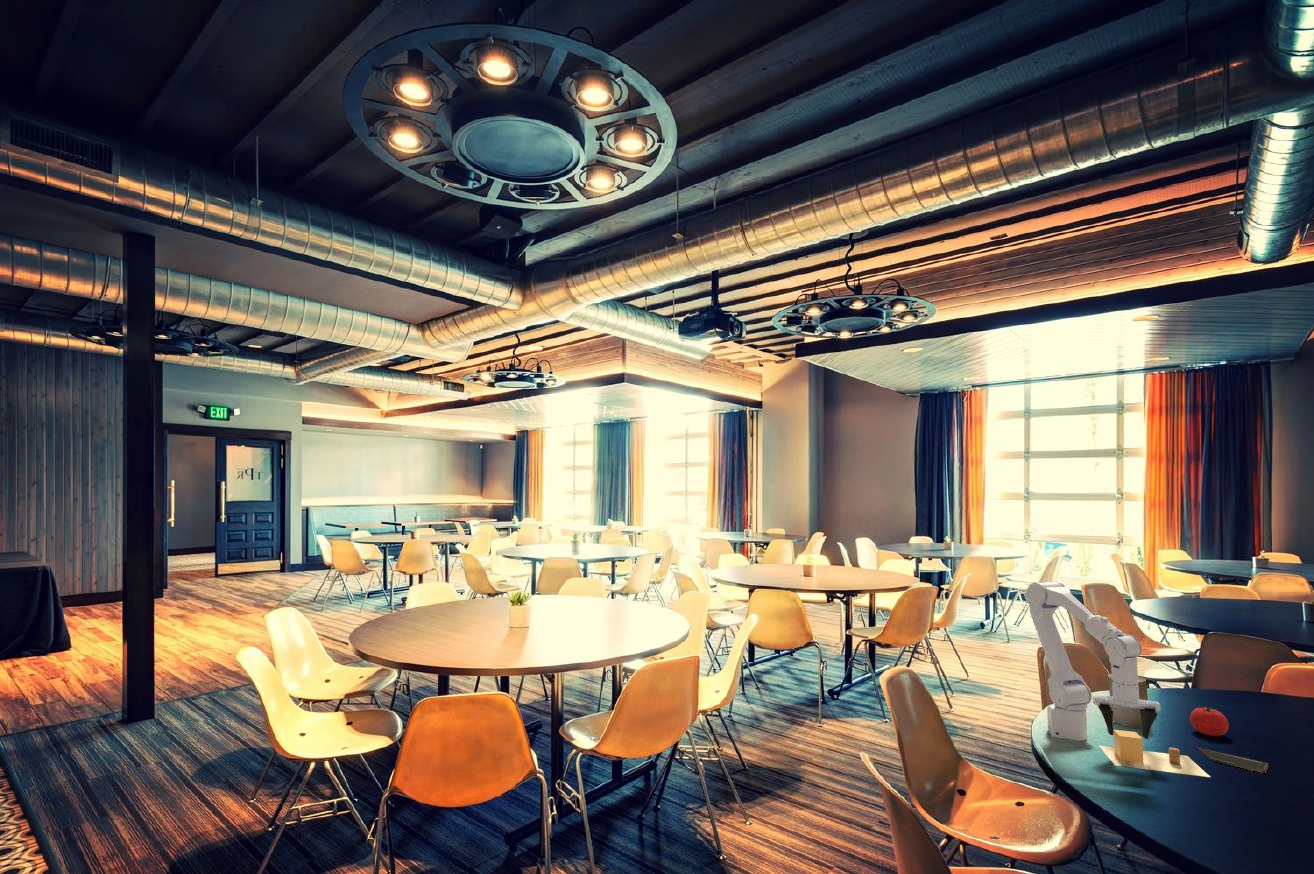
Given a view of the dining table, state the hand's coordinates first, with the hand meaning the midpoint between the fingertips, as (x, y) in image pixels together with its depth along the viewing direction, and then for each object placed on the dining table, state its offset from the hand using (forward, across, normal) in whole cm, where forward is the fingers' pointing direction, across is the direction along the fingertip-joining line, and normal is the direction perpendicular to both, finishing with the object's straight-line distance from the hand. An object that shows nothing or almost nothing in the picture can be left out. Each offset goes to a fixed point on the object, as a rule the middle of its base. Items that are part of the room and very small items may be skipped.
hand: (1127, 735), depth 173 cm
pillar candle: (+7, +10, +35) cm, 37 cm away
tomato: (+7, +29, +32) cm, 44 cm away
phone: (+7, +25, +10) cm, 28 cm away
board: (+7, +5, 0) cm, 8 cm away
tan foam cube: (+6, 0, 0) cm, 6 cm away
